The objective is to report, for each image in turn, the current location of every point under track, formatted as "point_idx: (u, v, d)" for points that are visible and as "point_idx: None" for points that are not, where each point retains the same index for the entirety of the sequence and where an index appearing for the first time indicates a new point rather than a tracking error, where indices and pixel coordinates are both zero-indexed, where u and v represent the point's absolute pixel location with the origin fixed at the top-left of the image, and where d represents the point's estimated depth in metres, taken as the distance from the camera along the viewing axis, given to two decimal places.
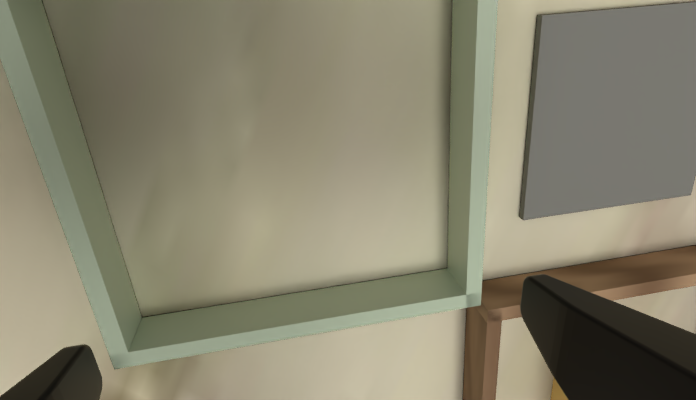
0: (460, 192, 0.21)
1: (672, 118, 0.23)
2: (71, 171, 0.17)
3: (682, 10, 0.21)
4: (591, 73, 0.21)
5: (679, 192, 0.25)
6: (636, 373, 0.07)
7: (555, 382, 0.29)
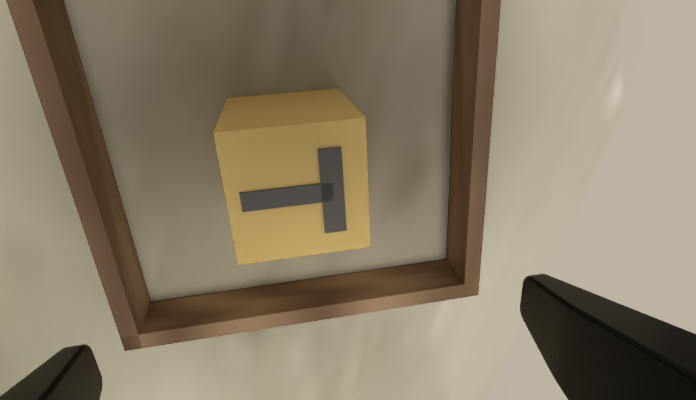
0: None
1: None
2: None
3: None
4: None
5: None
6: (636, 373, 0.07)
7: None
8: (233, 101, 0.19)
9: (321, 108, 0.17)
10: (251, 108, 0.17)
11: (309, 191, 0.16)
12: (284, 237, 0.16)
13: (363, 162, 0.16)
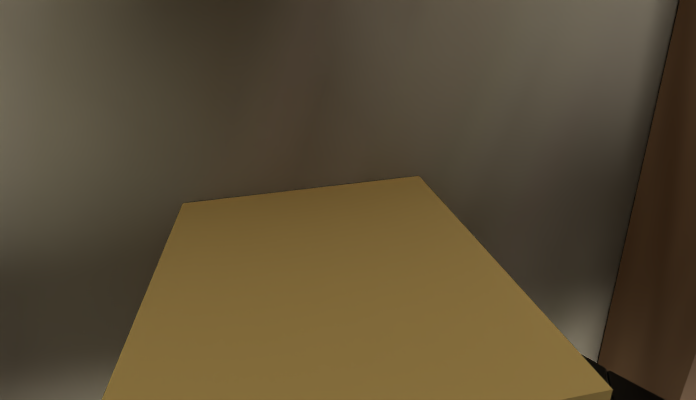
0: None
1: None
2: None
3: None
4: None
5: None
6: None
7: None
8: (192, 223, 0.08)
9: (422, 288, 0.06)
10: (229, 269, 0.07)
11: None
12: None
13: None
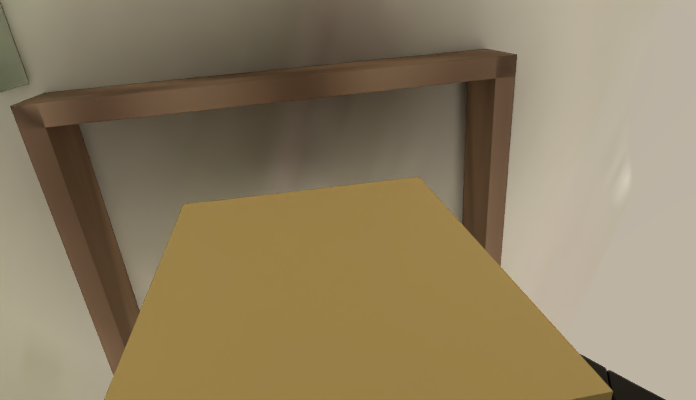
0: None
1: None
2: None
3: None
4: None
5: None
6: None
7: None
8: (193, 224, 0.08)
9: (422, 289, 0.06)
10: (230, 270, 0.07)
11: None
12: None
13: None
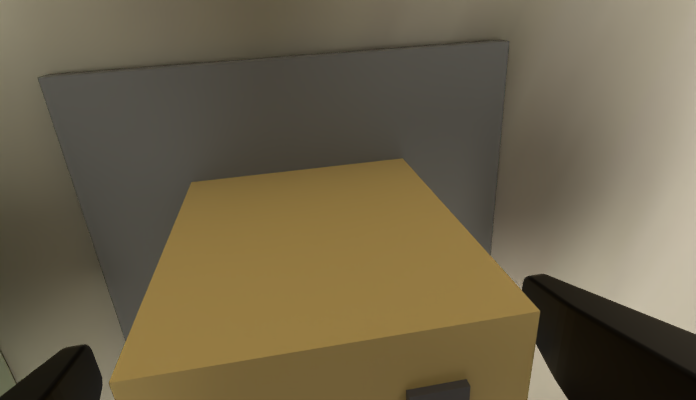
0: None
1: None
2: None
3: (382, 65, 0.10)
4: None
5: None
6: (636, 374, 0.07)
7: None
8: (200, 197, 0.09)
9: (396, 244, 0.07)
10: (234, 231, 0.08)
11: None
12: None
13: None
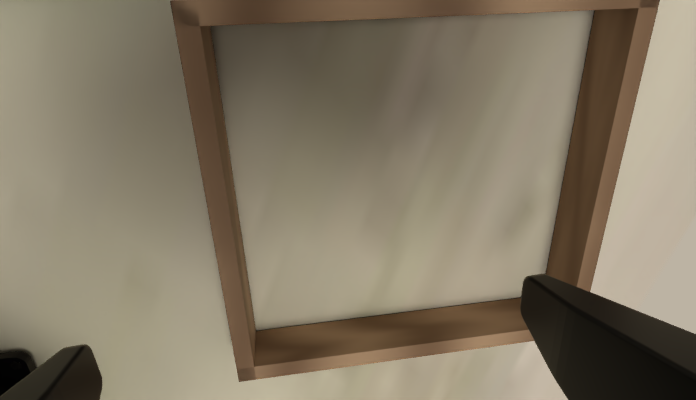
0: None
1: None
2: None
3: None
4: None
5: None
6: (636, 374, 0.07)
7: None
8: None
9: None
10: None
11: None
12: None
13: None
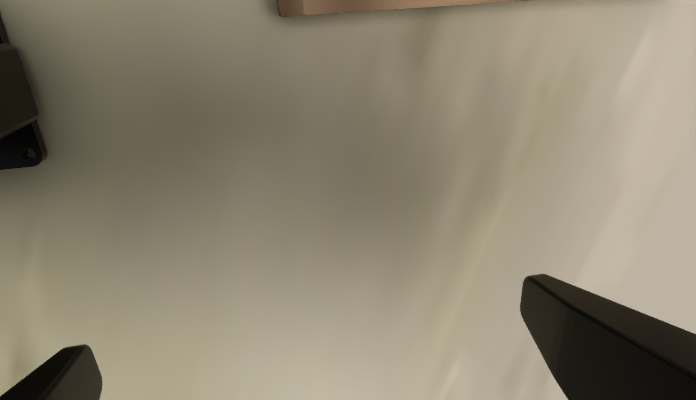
0: None
1: None
2: None
3: None
4: None
5: None
6: (636, 373, 0.07)
7: None
8: None
9: None
10: None
11: None
12: None
13: None
